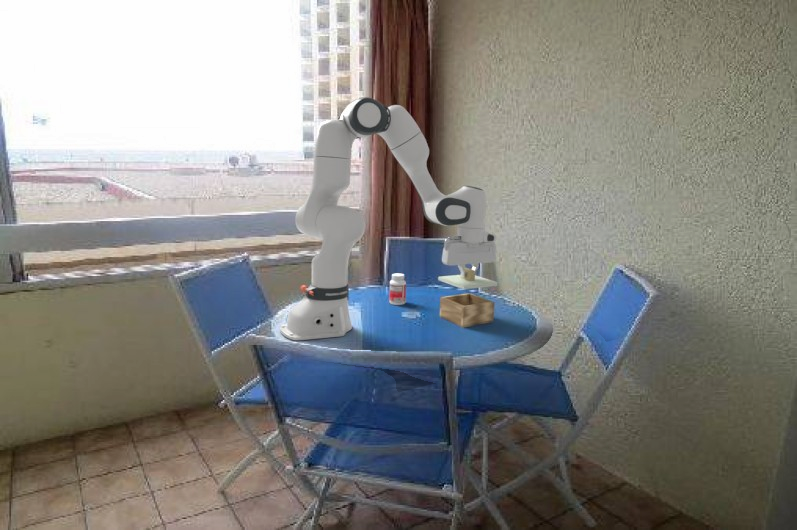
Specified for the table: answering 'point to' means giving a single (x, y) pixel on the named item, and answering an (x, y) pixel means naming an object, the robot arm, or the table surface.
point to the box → (466, 310)
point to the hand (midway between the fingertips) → (467, 276)
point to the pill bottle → (397, 289)
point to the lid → (467, 280)
